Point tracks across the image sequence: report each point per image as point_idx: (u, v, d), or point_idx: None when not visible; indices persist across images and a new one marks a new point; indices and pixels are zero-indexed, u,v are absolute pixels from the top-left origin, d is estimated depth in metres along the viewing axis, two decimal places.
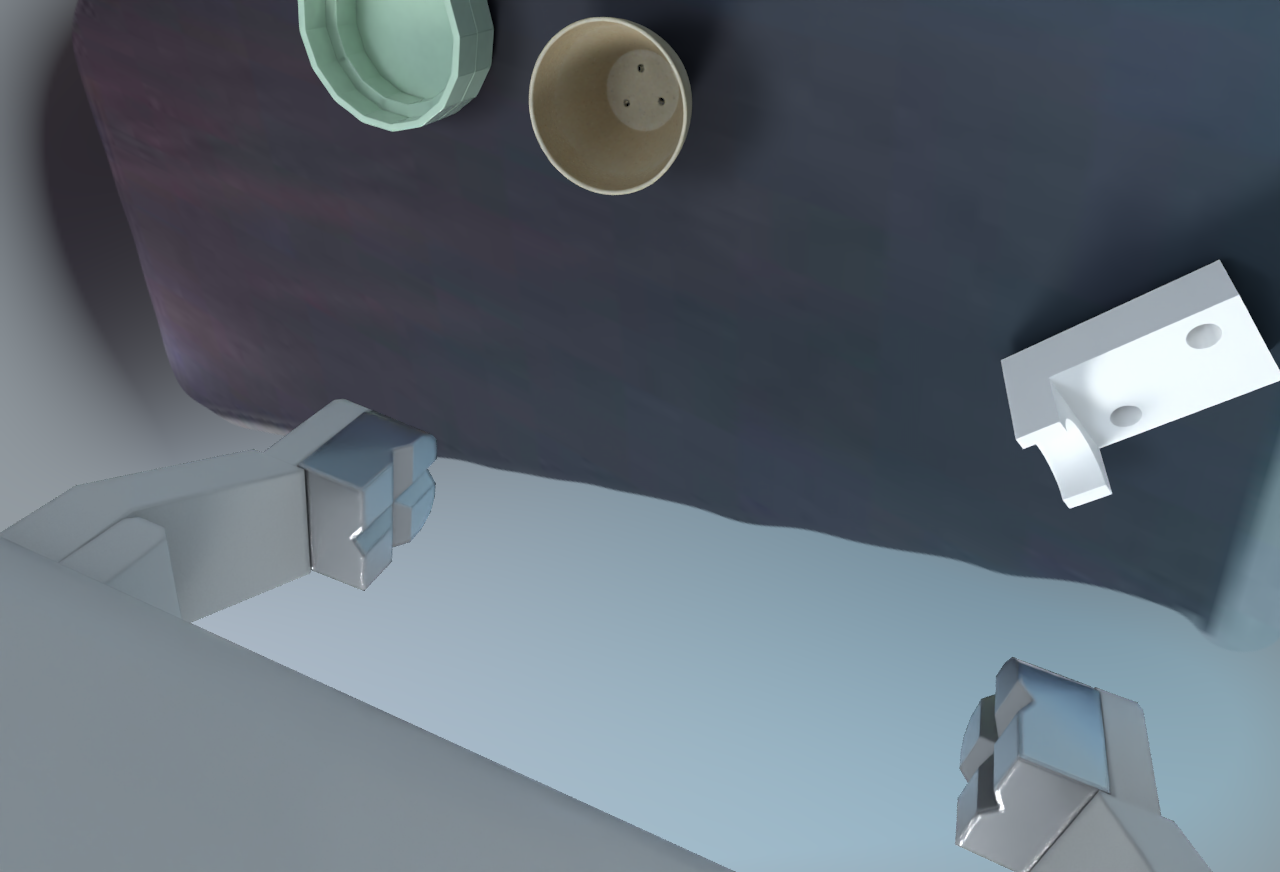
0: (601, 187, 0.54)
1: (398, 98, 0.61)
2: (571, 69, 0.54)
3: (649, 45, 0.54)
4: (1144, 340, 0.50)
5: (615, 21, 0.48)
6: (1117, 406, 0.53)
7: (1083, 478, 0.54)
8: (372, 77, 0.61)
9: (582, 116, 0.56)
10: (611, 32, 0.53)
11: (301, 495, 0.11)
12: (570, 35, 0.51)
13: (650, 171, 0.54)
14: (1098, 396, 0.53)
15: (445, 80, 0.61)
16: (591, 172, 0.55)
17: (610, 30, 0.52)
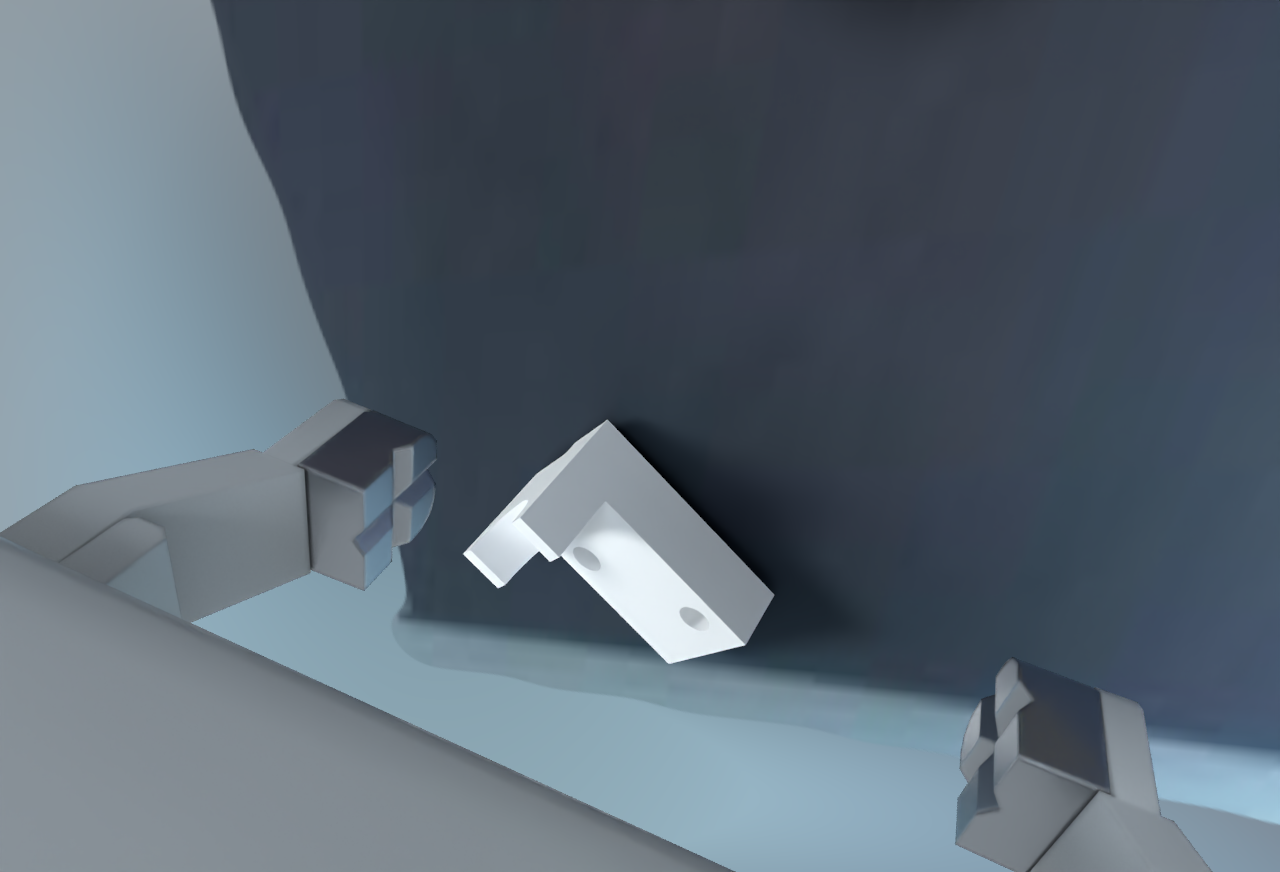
0: None
1: None
2: None
3: None
4: (676, 578, 0.44)
5: None
6: (594, 553, 0.46)
7: (502, 557, 0.45)
8: None
9: None
10: None
11: (301, 495, 0.11)
12: None
13: None
14: (600, 539, 0.45)
15: None
16: None
17: None
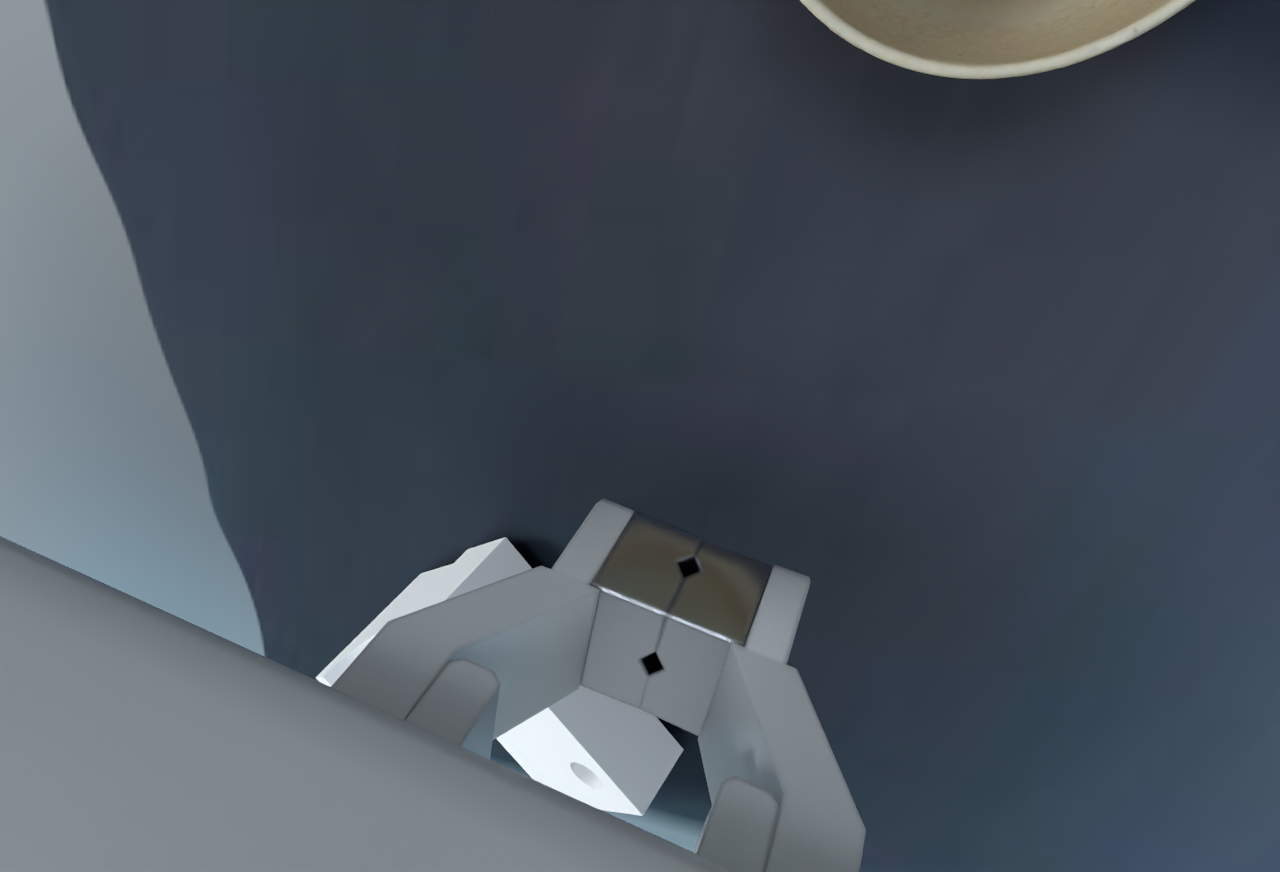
0: None
1: None
2: None
3: None
4: (568, 735, 0.37)
5: None
6: None
7: None
8: None
9: None
10: None
11: (592, 615, 0.10)
12: None
13: None
14: None
15: None
16: None
17: None
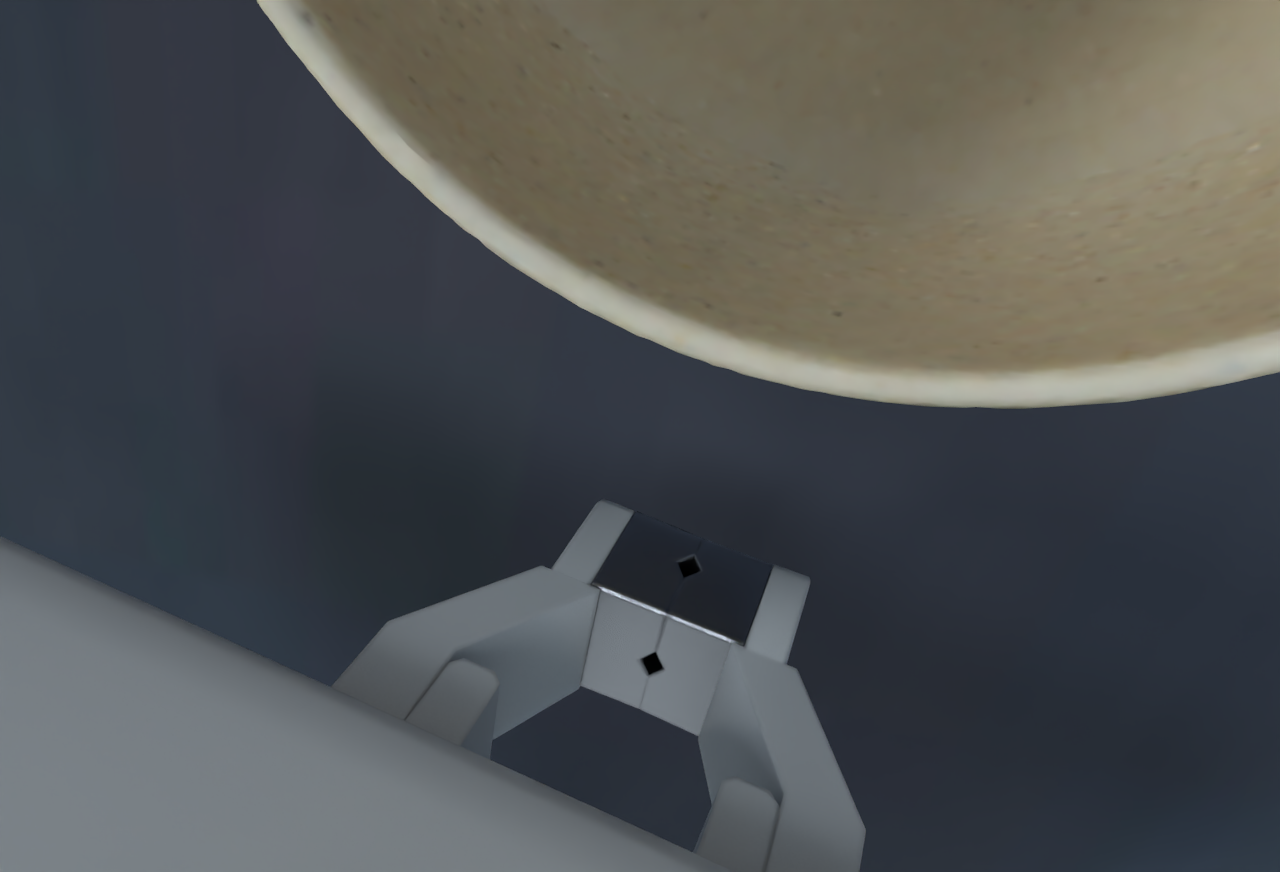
0: None
1: None
2: None
3: None
4: None
5: None
6: None
7: None
8: None
9: None
10: None
11: (592, 615, 0.10)
12: None
13: None
14: None
15: None
16: None
17: None
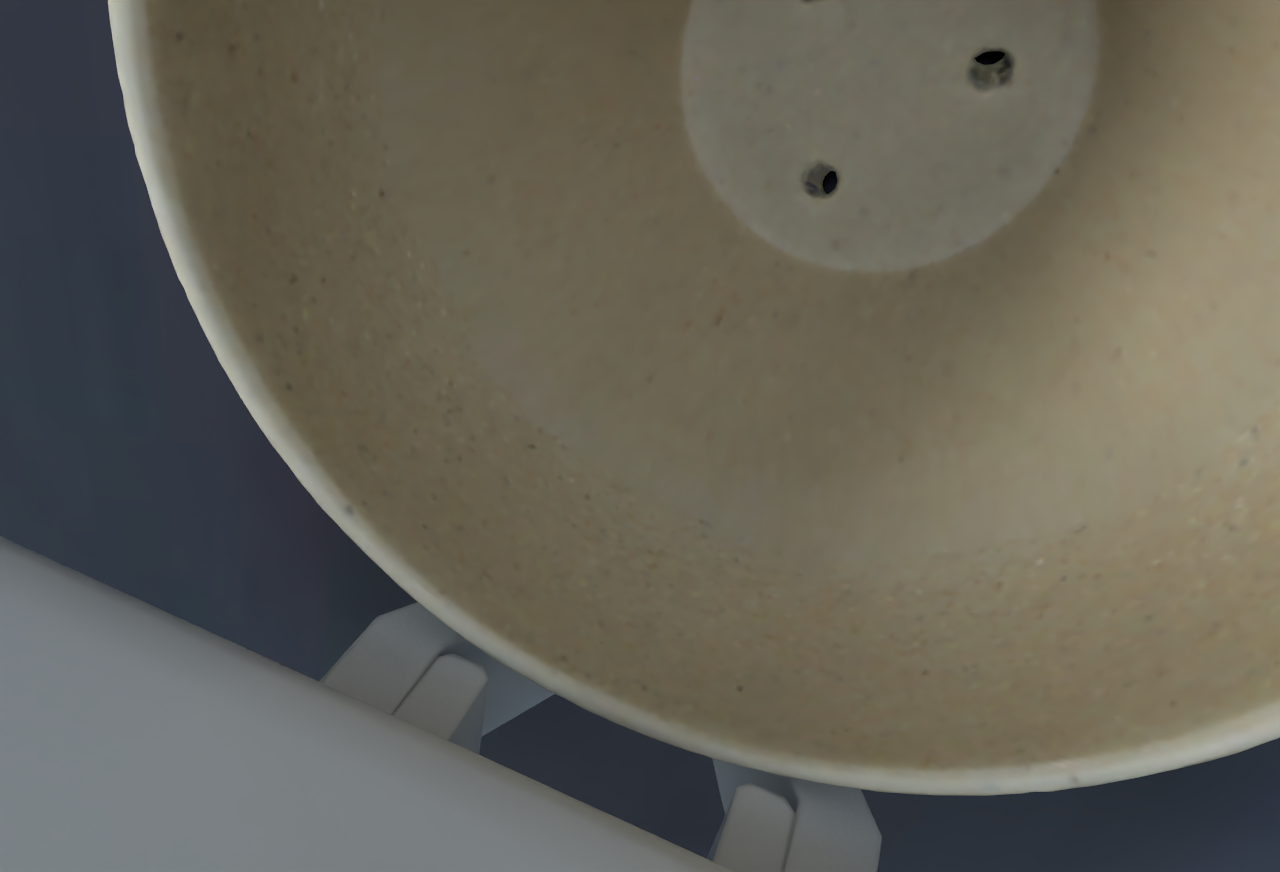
0: (195, 145, 0.07)
1: None
2: None
3: (1119, 167, 0.10)
4: None
5: None
6: None
7: None
8: None
9: None
10: None
11: None
12: None
13: (442, 360, 0.10)
14: None
15: None
16: None
17: None
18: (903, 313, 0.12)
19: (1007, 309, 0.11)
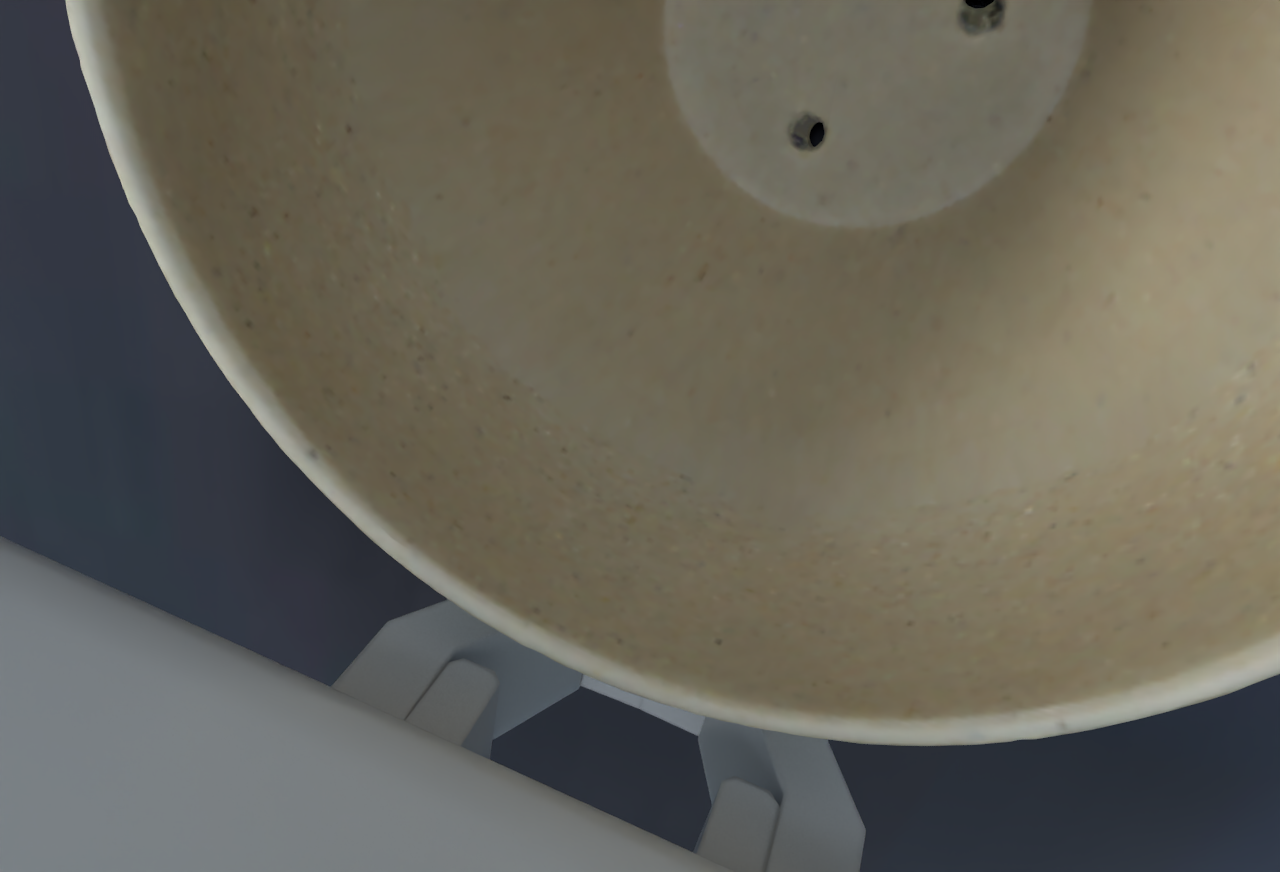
0: (145, 61, 0.07)
1: None
2: None
3: (1113, 110, 0.09)
4: None
5: None
6: None
7: None
8: None
9: None
10: None
11: None
12: None
13: (413, 306, 0.09)
14: None
15: None
16: None
17: None
18: (891, 268, 0.11)
19: (998, 260, 0.10)
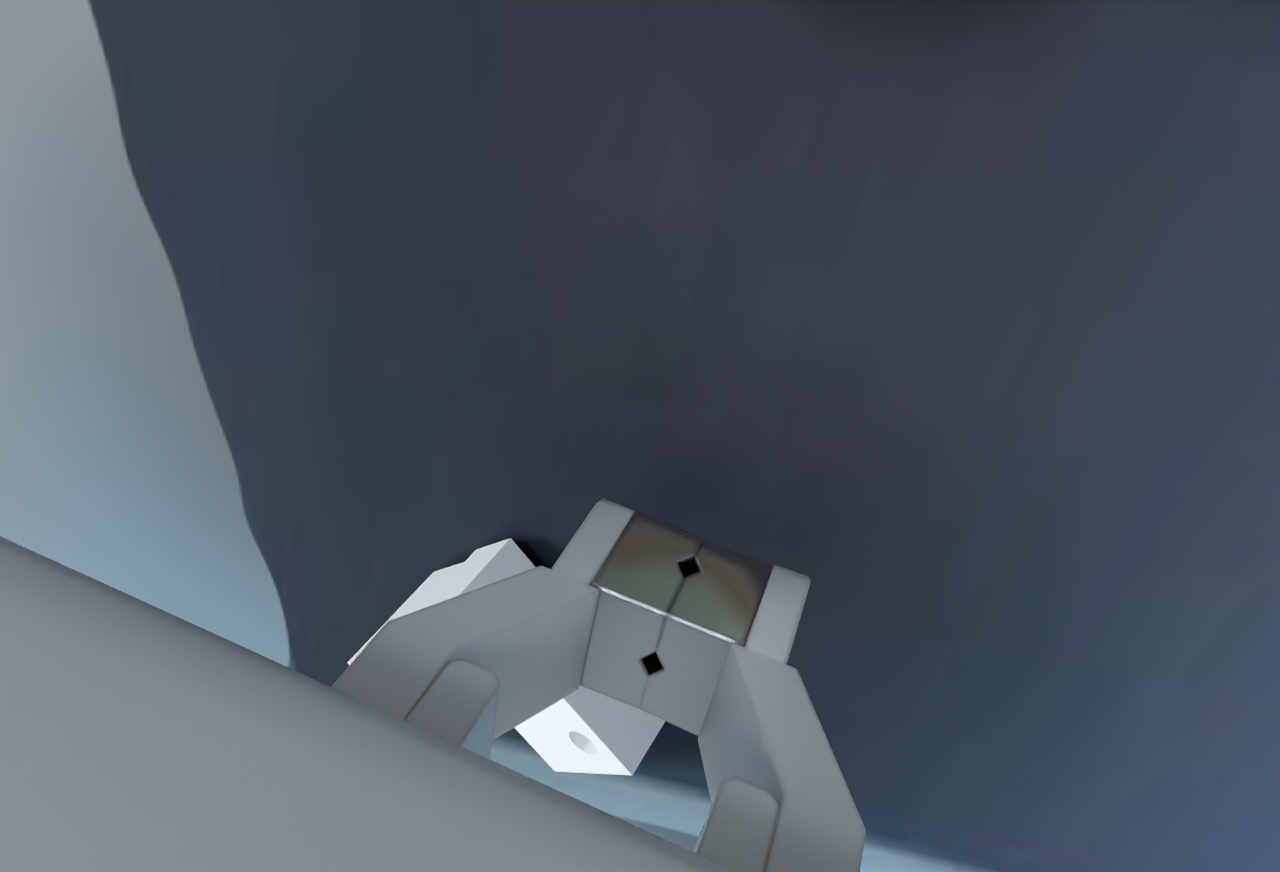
0: None
1: None
2: None
3: None
4: (567, 706, 0.43)
5: None
6: None
7: None
8: None
9: None
10: None
11: (592, 614, 0.10)
12: None
13: None
14: None
15: None
16: None
17: None
18: None
19: None
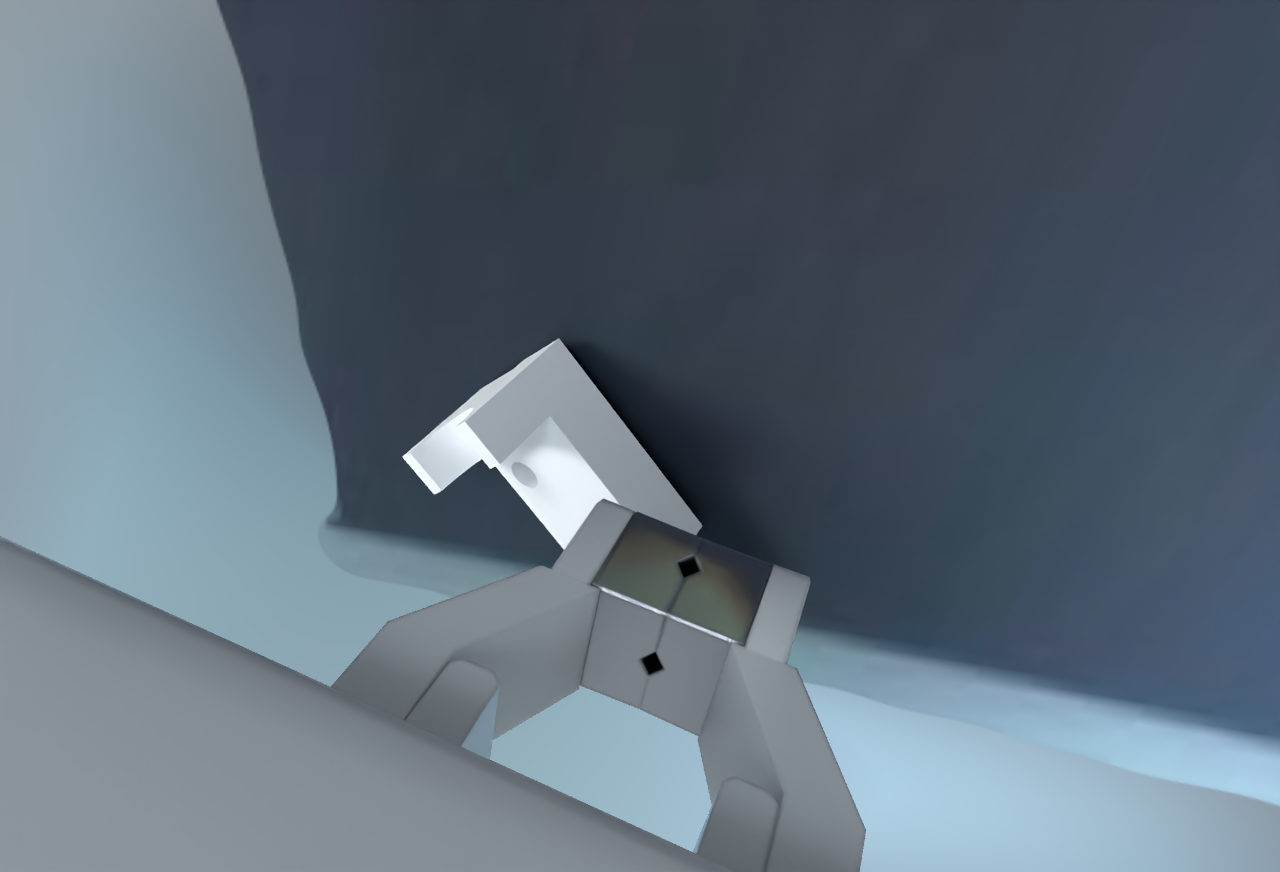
0: None
1: None
2: None
3: None
4: (611, 498, 0.45)
5: None
6: (533, 469, 0.47)
7: (441, 464, 0.46)
8: None
9: None
10: None
11: (592, 614, 0.10)
12: None
13: None
14: (540, 456, 0.46)
15: None
16: None
17: None
18: None
19: None
